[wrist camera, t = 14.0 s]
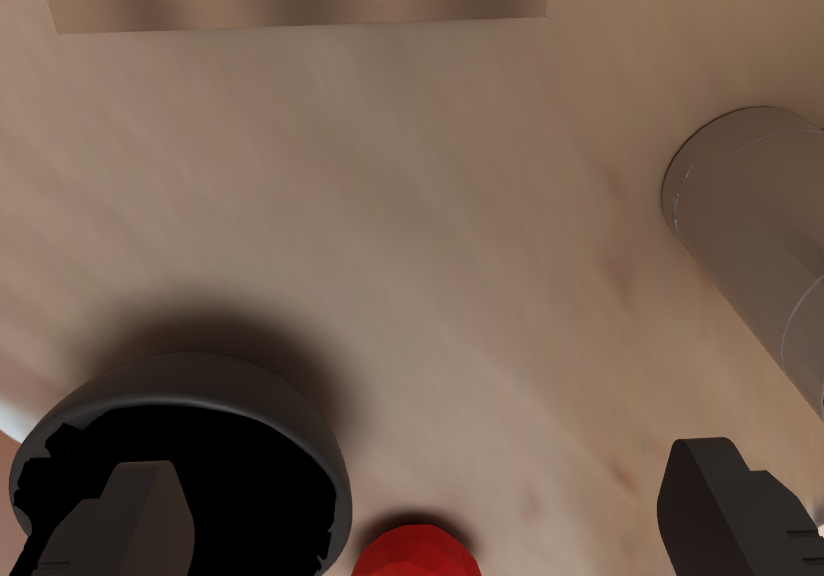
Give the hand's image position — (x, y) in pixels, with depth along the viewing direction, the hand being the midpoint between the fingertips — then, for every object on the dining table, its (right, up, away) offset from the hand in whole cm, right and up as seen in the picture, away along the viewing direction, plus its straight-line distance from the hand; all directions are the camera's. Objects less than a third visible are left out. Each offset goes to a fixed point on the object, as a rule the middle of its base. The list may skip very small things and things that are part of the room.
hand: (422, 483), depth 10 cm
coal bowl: (-14, -5, +37) cm, 39 cm away
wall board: (-5, +18, +21) cm, 29 cm away
